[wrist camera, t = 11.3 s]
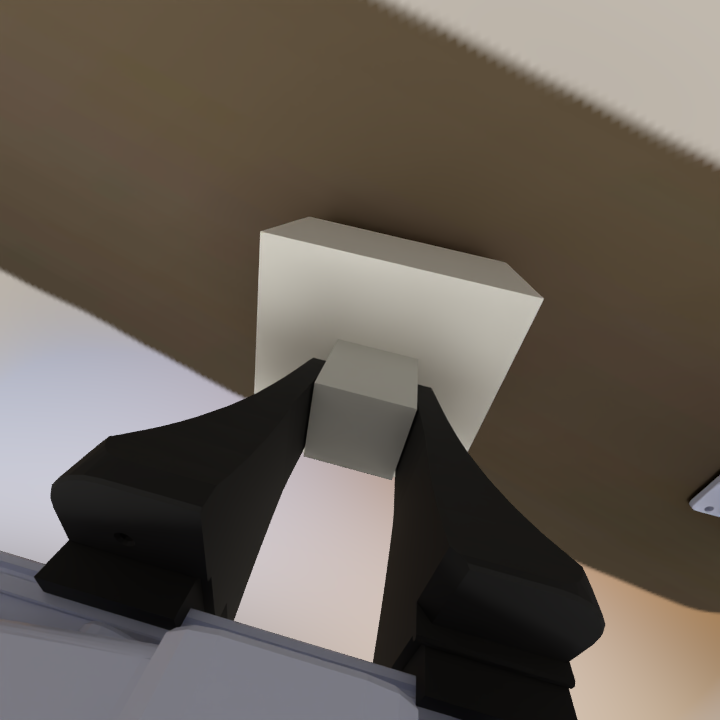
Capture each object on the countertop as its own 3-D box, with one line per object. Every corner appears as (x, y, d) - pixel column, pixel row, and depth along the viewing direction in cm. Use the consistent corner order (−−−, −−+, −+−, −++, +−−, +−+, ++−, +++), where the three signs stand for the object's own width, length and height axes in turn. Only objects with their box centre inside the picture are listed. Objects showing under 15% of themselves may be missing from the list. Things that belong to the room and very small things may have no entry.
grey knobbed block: (505, 262, 15) (586, 339, 8) (441, 417, 19) (453, 558, 12) (309, 216, 15) (207, 247, 8) (292, 378, 20) (217, 491, 13)
